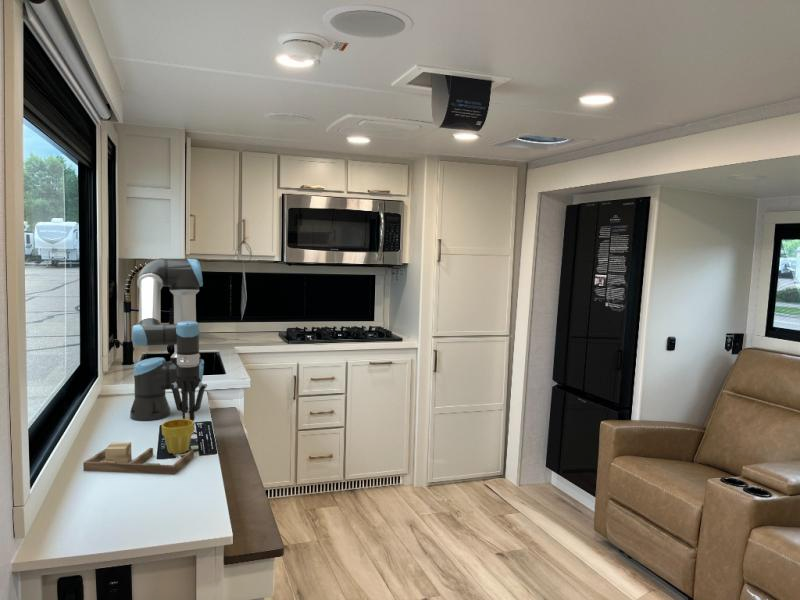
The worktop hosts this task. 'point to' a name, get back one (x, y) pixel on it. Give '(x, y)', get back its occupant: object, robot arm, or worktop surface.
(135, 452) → the worktop surface
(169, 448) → the plant pot
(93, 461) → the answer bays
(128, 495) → the worktop surface
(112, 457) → the oak block
